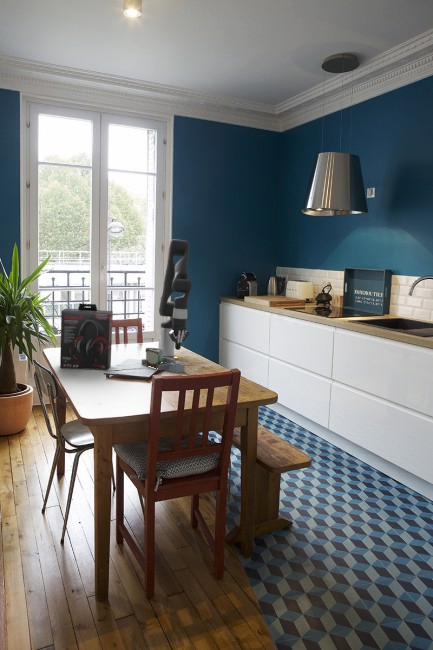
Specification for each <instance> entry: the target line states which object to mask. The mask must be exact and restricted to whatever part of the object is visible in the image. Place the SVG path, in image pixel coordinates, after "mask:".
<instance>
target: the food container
mask: <svg viewBox="0 0 433 650" xmlns="http://www.w3.org/2000/svg"><path fill="white" fill-rule="evenodd" d="M163 354H164V353H163V350H162V349H159V347H158V348H155V347H146V348H145V356H146V357H145V359H146V365H147V366H151V367H154V368H156V369H157V368H158V365H160V364H162V363H161V361H162V358H163V356H162V355H163ZM146 365H145V366H146ZM147 366H146V367H147ZM156 369H155V370H156Z"/></svg>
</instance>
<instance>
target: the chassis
mask: <svg viewBox="0 0 433 650" xmlns="http://www.w3.org/2000/svg"><path fill="white" fill-rule="evenodd" d="M174 361H175V359H173V358H169V357H167V356H162V361H161V362H166V363H161V364H160V365H158V370H157V371H167V370H168V372H170V373H176V374H177V373H185V369H186V364H184V361H180V364H179V365H175V364H174ZM142 364H146V358H145V359H143V358H142V359H141V365H142Z"/></svg>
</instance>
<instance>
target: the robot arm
mask: <svg viewBox="0 0 433 650" xmlns="http://www.w3.org/2000/svg"><path fill="white" fill-rule="evenodd" d="M167 252H168V255H167V264H166V269H165V274H164V280H163V281H164V282H163V290H162V293H161V299H160V301H159V302H160V303H159V307H158V314H159V315H160V317H167V318H169V317H170V318H169V319H168V320H166V321H162V322H161V323H160V331H159V332H160V334H159V335H160V336H159V339H158V349H162V350H163V353H164V354H163V355H162V357H174V356H175V350H177V351H179V350H181V347H182V343H183V342H185V341H186V339H187V338H188V336H189V334H190V332H189V331H187V325H188V305H189V304H188V303H189V298H190V295H191V292H192V289H193V283H192V282H193V281H192V280H190V279H188V278H189V270H188V269H189V267H188V265H189V255H190V243H189V242H188V241H187V240H185V239H179V238H178V239H177V238H172V239H171V240H170V241H169V244H168V251H167ZM175 257H181V258H180V259H179V260H178V261H177V263H176V261H175ZM174 293H182V294H183V295H182V296H177V297H175V298H174V301H169V299H170V297H172V295H173V294H174Z"/></svg>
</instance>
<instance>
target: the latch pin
mask: <svg viewBox="0 0 433 650" xmlns="http://www.w3.org/2000/svg"><path fill="white" fill-rule="evenodd" d="M172 357H173V358H172V359H173V360H175V361H174V364H175V365H179V364H180V362H181V360H182V356H178V355H174V356H172Z"/></svg>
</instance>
